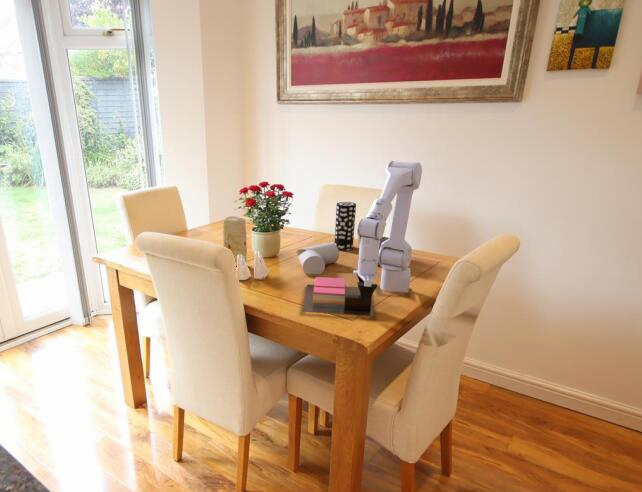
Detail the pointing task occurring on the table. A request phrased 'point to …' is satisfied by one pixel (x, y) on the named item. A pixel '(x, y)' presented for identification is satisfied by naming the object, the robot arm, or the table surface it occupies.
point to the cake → (330, 282)
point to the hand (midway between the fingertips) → (364, 299)
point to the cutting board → (309, 308)
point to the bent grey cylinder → (317, 257)
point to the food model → (235, 236)
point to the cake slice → (329, 293)
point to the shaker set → (259, 267)
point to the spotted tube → (345, 225)
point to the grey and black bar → (343, 303)
